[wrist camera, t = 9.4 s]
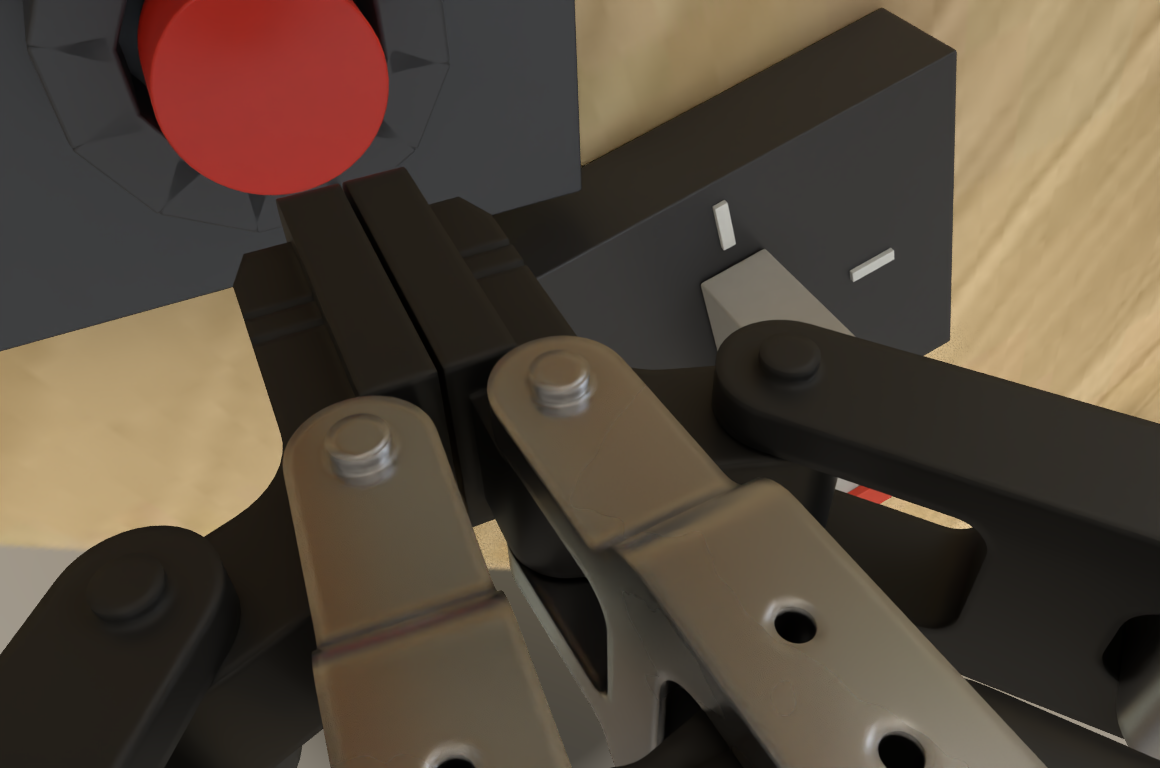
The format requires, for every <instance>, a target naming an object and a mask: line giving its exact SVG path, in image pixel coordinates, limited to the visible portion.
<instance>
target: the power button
mask: <svg viewBox="0 0 1160 768" xmlns="http://www.w3.org/2000/svg"><path fill="white" fill-rule="evenodd" d="M137 45H138V52H139V59H140V63H141V67H142V71H143V74H144V78H145V82H146V85H147V89H148V93H149V96H150V100H151V104H152V107H153V111H154V114H155V117H156V120H157V122H158V124H159V127H160V129H161V131H162V133H163V134H164V136H165V138H166V139H167V141H168V142H169V144H170V145H171V147H172V148H173V149H174V150H175V151H176V153H177V154H178V155H179V156H180V157H181V158H182V159H183V160H184V161H185V162H186V163H187V164H188V165H189V166H190V167H192V168H193V169H195V170H196V171H197V172H199V173H200V174H201V175H203V176H205V177H206V178H208V179H210V180H212V181H214V182H216V183H218V184H220V185H223V186H225V187H228V188H230V189H234V190H237V191H241V192H245V193H251V194H258V195H284V194H292V193H297V192H302V191H305V190H309V189H312V188H315V187H317V186H320V185H322V184H324V183H326V182H329V181H330V180H332V179H334V178H335V177H337V176H339V175H340V174H342V173H343V172H344V171H346V170H347V169H348V168H350V167H351V166H352V165H353V164H354V163H355V162H356V161H357V160H358V159H359V158H360V157H361V156H362V155H363V154H364V152H365V151H366V150H367V149H368V147H369V146H370V145H371V143H372V141H373V140H374V138H375V136H376V135H377V133H378V130H379V128H380V126H381V124H382V121H383V118H384V114H385V111H386V108H387V101H388V95H389V77H388V68H387V63H386V59H385V55H384V52H383V49H382V47H381V44H380V42H379V39H378V37H377V36H376V34H375V32H374V30H373V28H372V27H371V25H370V24H369V22H368V21H367V20H366V18H365V17H364V15H363V14H362V13H361V11H360V10H359V8H358V7H357V6H356V4H355V3H354V2H353V0H145V1H144V3H143V7H142V10H141V13H140V17H139V24H138V30H137Z"/></svg>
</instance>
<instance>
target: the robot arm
mask: <svg viewBox="0 0 1160 768" xmlns="http://www.w3.org/2000/svg"><path fill="white" fill-rule="evenodd" d="M342 189H343V190H342ZM276 205H277V209H278V213H279V216H280V220H281V224H282V227H283V230H284V234H285V237H286V241H287V243H283V244H279V245H276V246H272V247H268V248H264V249H261V250H257V251H253V252H249V253H246V254H243V257H242V260H241V263H240V266H239V269H238V272H237V275H236V278H235V281H234V283H233V287H234V290H235V293H236V297H237V300H238V303H239V306H240V309H241V312H242V315H243V318H244V321H245V324H246V328H247V331H248V334H249V337H250V340H251V343H252V346H253V349H254V352H255V355H256V359H257V362H258V365H259V368H260V371H261V374H262V377H263V380H264V383H265V386H266V390H267V393H268V396H269V399H270V402H271V405H272V408H273V411H274V414H275V417H276V421H277V424H278V427H279V430H280V433H281V437H282V442H283V454H282V458H281V463H280V466H279V468H278V471H277V473H276V475H275V477H274V479H273V480H272V482H271V483H270V485H269V486H268V488H267V489H266V490H265V491H264V492H263V494H262V495H261V496H260V497H259V498H258V499H257V500H256V501H255V502H254V503H253V504H252V505H250V506H249V507H248V508H247V509H246V510H244V511H243V512H241V513H240V514H239V515H237V516H236V517H234V518H233V519H231V520H230V521H228V522H227V523H225V524H224V525H222V526H220V527H219V528H217V529H216V530H214V531H213V532H211V533H209V534H208V535H206V536H205V537H203V536H201V535H199V534H197V533H195V532H193V531H191V530H188V529H184V528H181V527H174V526H148V527H143V528H137V529H133V530H130V531H126V532H123V533H120V534H118V535H115V536H113V537H110V538H108V539H106V540H104V541H102V542H100V543H99V544H97V545H95V546H93V547H92V548H90V549H89V550H87V551H86V552H85V553H83V554H82V555H80V556H79V557H78V558H77V559H76V560H74V561H73V562H72V563H71V564H70V565H69V566H68V567H67V568H66V569H65V570H64V571H63V572H62V573H61V575H60V576H59V577H58V578H57V579H56V581H55V582H54V583H53V585H52V586H51V587H50V589H49V590H48V591H47V593H46V594H45V595H44V597H43V598H42V599H41V601H40V602H39V603H38V605H37V606H36V607H35V609H34V610H33V612H32V613H31V614H30V616H29V617H28V618H27V620H26V621H25V622H24V624H23V625H22V626H21V628H20V629H19V630H18V632H17V633H16V634H15V636H14V637H13V638H12V640H11V641H10V642H9V644H8V645H7V646H6V648H5V649H4V650H3V652H2V653H1V654H0V768H297V766H298V763H299V760H300V755H301V750H302V745H303V744H305V743H306V742H307V741H308V740H310V739H311V738H312V737H313V736H314V735H316V734H317V733H318V732H319V731H321V730H322V729H324V735H325V739H326V745H327V750H328V756H329V761H330V766H331V768H572V767H571V765H570V762H569V759H568V756H567V754H566V751H565V748H564V746H563V743H562V740H561V738H560V735H559V732H558V730H557V727H556V724H555V722H554V719H553V716H552V714H551V711H550V708H549V705H548V703H547V700H546V697H545V695H544V692H543V689H542V687H541V684H540V681H539V679H538V676H537V673H536V671H535V668H534V666H533V663H532V660H531V657H530V655H529V652H528V649H527V647H526V644H525V642H524V639H523V636H522V633H521V631H520V628H519V625H518V623H517V620H516V618H515V615H514V613H513V611H512V608H511V605H510V603H509V601H508V599H507V597H506V595H505V594H504V592H503V591H497V590H496V589H495V587H494V584H493V582H492V580H491V577H490V574H489V571H488V569H487V566H486V563H485V560H484V558H483V555H482V552H481V549H480V547H479V544H478V541H477V538H476V536H475V533H474V530H473V527H475V526H477V525H480V524H483V523H485V522H488V521H491V520H493V519H496V521H497V523H498V525H499V527H500V529H501V531H502V533H503V535H504V537H505V539H506V541H507V546H508V554H509V562H510V568H511V572H512V575H513V577H514V580H515V582H516V583H517V585H518V587H519V588H520V590H521V592H522V593H523V595H524V597H525V598H526V600H527V602H528V603H529V605H530V607H531V608H532V610H533V611H534V613H535V615H536V616H537V618H538V619H539V621H540V623H541V625H542V626H543V628H544V630H545V631H546V633H547V635H548V636H549V638H550V640H551V641H552V643H553V644H554V646H555V648H556V649H557V651H558V653H559V654H560V656H561V657H562V659H563V661H564V663H565V664H566V666H567V668H568V669H569V671H570V672H571V674H572V676H573V677H574V679H575V681H576V682H577V684H578V686H579V687H580V689H581V691H582V692H583V694H584V696H585V697H586V699H587V700H588V702H589V704H590V705H591V707H592V709H593V711H594V713H595V714H596V716H597V718H598V720H599V723H600V725H601V727H602V730H603V732H604V735H605V738H606V740H607V744H608V747H609V751H610V754H611V756H612V759H613V762H614V764H615V767H613V768H1160V424H1158V423H1155V422H1151V421H1148V420H1144V419H1141V418H1137V417H1134V416H1130V415H1127V414H1123V413H1120V412H1116V411H1113V410H1109V409H1106V408H1102V407H1099V406H1095V405H1092V404H1088V403H1085V402H1081V401H1078V400H1074V399H1071V398H1067V397H1064V396H1060V395H1057V394H1053V393H1050V392H1046V391H1043V390H1039V389H1036V388H1032V387H1029V386H1026V385H1022V384H1019V383H1015V382H1012V381H1008V380H1005V379H1001V378H998V377H994V376H991V375H987V374H984V373H980V372H977V371H973V370H970V369H966V368H963V367H959V366H956V365H952V364H949V363H945V362H942V361H938V360H935V359H931V358H928V357H924V356H921V355H917V354H914V353H910V352H907V351H903V350H900V349H896V348H893V347H889V346H886V345H882V344H879V343H875V342H872V341H868V340H865V339H861V338H858V337H854V336H851V335H847V334H844V333H840V332H837V331H833V330H830V329H826V328H823V327H819V326H816V325H813V324H809V323H804V322H800V321H793V320H767V321H760V322H756V323H752V324H749V325H746V326H744V327H741V328H740V329H738V330H736V331H734V332H733V333H732V334H730V335H729V336H728V337H727V338H726V339H725V340H724V341H723V343H722V344H721V345H720V347H719V349H718V352H717V355H716V361H715V366H704V367H691V368H678V369H663V370H648V369H637V368H632V367H630V366H629V365H628V364H627V363H626V362H625V361H624V360H623V358H622V357H620V356H619V355H618V354H617V353H616V352H615V351H614V350H612V349H610V348H609V347H607V346H606V345H603V344H601V343H599V342H597V341H594V340H590V339H587V338H582V337H577V335H576V334H575V332H574V331H573V330H572V328H571V327H570V325H569V324H568V323H567V321H566V320H565V318H564V317H563V315H562V314H561V313H560V311H559V310H558V308H557V307H556V306H555V304H554V303H553V301H552V300H551V298H550V297H549V296H548V294H547V293H546V291H545V290H544V289H543V287H542V286H541V284H540V283H539V281H538V280H537V279H536V277H535V276H534V274H533V273H532V272H531V270H530V269H529V267H528V266H527V265H524V262H523V259H522V257H521V256H520V255H519V253H518V252H517V250H516V249H515V247H514V246H513V245H512V244H511V245H510V243H509V239H508V238H507V236H506V235H505V233H504V232H503V230H502V229H501V228H500V226H499V225H498V223H497V222H496V221H495V219H494V218H493V216H492V215H491V214H490V213H488V212H486V211H484V210H483V209H481V208H479V207H477V206H475V205H473V204H472V203H470V202H468V201H466V200H464V199H463V198H461V197H455V198H451V199H447V200H444V201H440V202H436V203H432V204H428V202H427V201H426V199H425V198H424V196H423V194H422V193H421V191H420V190H419V188H418V186H417V185H416V183H415V182H414V180H413V178H412V177H411V175H410V174H409V172H408V171H407V169H406V168H405V167H400V168H396V169H392V170H388V171H384V172H380V173H376V174H372V175H368V176H364V177H361V178H357V179H353V180H349V181H345V182H343V183H342V188H341V186H340V185H339V184H334V185H330V186H326V187H322V188H318V189H314V190H310V191H306V192H302V193H298V194H294V195H290V196H286V197H282V198H278V199H276ZM838 478H840V479H843V480H846V481H849V482H852V483H855V484H858V485H861V486H864V487H867V488H870V489H873V490H876V491H879V492H882V493H884V494H887V495H890V496H893V497H896V498H899V499H902V500H905V501H908V502H911V503H914V504H917V505H920V506H923V507H926V508H929V509H932V510H934V511H937V512H940V513H943V514H946V515H949V516H952V517H955V518H957V519H960V520H962V521H964V522H966V523H968V524H969V525H971V526H972V527H973V528H969V529H953V528H948V527H944V526H941V525H938V524H935V523H933V522H930V521H927V520H924V519H921V518H918V517H915V516H912V515H909V514H906V513H903V512H901V511H898V510H895V509H892V508H889V507H886V506H883V505H880V504H877V503H874V502H872V501H869V500H866V499H863V498H860V497H857V496H854V495H851V494H848V493H845V492H843V491H840V490H837V489H835V487H836V483H837V479H838ZM961 675H963V676H966V677H968V678H971V679H973V680H976V681H978V682H981V683H983V684H986V685H988V686H991V687H993V688H996V689H999V690H1001V691H1004V692H1006V693H1009V694H1011V695H1014V696H1016V697H1019V698H1021V699H1024V700H1026V701H1029V702H1031V703H1034V704H1036V705H1039V706H1042V707H1044V708H1047V709H1049V710H1052V711H1054V712H1057V713H1060V714H1062V715H1064V716H1067V717H1069V718H1072V719H1075V720H1077V721H1080V722H1082V723H1085V724H1087V725H1090V726H1092V727H1095V728H1098V729H1100V730H1102V731H1105V732H1107V733H1110V734H1113V735H1115V736H1118V737H1120V738H1123V739H1125V741H1126V743H1127V745H1128V746H1129V747H1128V746H1126V745H1123V744H1121V743H1118V742H1116V741H1114V740H1111V739H1109V738H1107V737H1104V736H1102V735H1100V734H1097V733H1095V732H1093V731H1091V730H1088V729H1086V728H1083V727H1081V726H1079V725H1076V724H1074V723H1072V722H1069V721H1067V720H1065V719H1063V718H1060V717H1058V716H1056V715H1053V714H1051V713H1048V712H1046V711H1044V710H1041V709H1039V708H1037V707H1034V706H1032V705H1030V704H1027V703H1025V702H1023V701H1020V700H1018V699H1016V698H1014V697H1011V696H1009V695H1007V694H1004V693H1002V692H1000V691H997V690H995V689H992V688H990V687H987V686H985V685H982V684H980V683H977V682H975V681H972V680H968V679H965V678H963V677H962V676H961Z"/></svg>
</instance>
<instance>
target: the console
mask: <svg viewBox="0 0 1160 768" xmlns="http://www.w3.org/2000/svg"><path fill="white" fill-rule="evenodd" d="M956 61H957V52H956V50H955V49H953V48H951V47H949V46H948V45H946V44H944V43H942V42H941V41H939V40H937V39H936V38H934V37H932V36H930V35H929V34H927V33H925V32H923V31H922V30H920V29H918V28H917V27H915V26H913V25H911V24H910V23H908V22H906V21H904V20H903V19H901V18H899V17H898V16H896V15H894V14H892V13H891V12H889V11H887V10H885V9H884V8H880V9H878V10H876V11H875V12H873V13H871V14H869V15H867V16H865V17H863V18H861V19H860V20H858V21H856V22H854V23H852V24H850V25H848V26H846V27H845V28H843V29H841V30H839V31H837V32H835V33H833V34H831V35H830V36H828V37H826V38H824V39H822V40H820V41H818V42H816V43H814V44H813V45H811V46H809V47H807V48H805V49H803V50H801V51H799V52H798V53H796V54H794V55H792V56H790V57H788V58H786V59H784V60H783V61H781V62H779V63H777V64H775V65H773V66H771V67H769V68H768V69H766V70H764V71H762V72H760V73H758V74H756V75H754V76H753V77H751V78H749V79H747V80H745V81H743V82H741V83H739V84H737V85H736V86H734V87H732V88H730V89H728V90H726V91H724V92H722V93H721V94H719V95H717V96H715V97H713V98H711V99H709V100H707V101H706V102H704V103H702V104H700V105H698V106H696V107H694V108H692V109H691V110H689V111H687V112H685V113H683V114H681V115H679V116H677V117H676V118H674V119H672V120H670V121H668V122H666V123H664V124H662V125H661V126H659V127H657V128H655V129H653V130H651V131H649V132H647V133H645V134H644V135H642V136H640V137H638V138H636V139H634V140H632V141H630V142H629V143H627V144H625V145H623V146H621V147H619V148H617V149H615V150H614V151H612V152H610V153H608V154H606V155H604V156H602V157H600V158H599V159H597V160H595V161H593V162H591V163H589V164H587V165H585V166H584V167H582V168H581V186H582V189H581V190H580V191H578V192H575V193H571V194H567V195H564V196H560V197H557V198H553V199H549V200H546V201H542V202H538V203H535V204H531V205H528V206H524V207H520V208H517V209H513V210H510V211H506V212H502V213H499V214H495V215H492V216H493V218H494V219H495V221H496V222H497V223H498V225H499V226H500V228H501V229H502V230H503V232H504V233H505V235H506V236H507V238H508V239H509V243H510V245H511V244H512V245H513V246H514V247H515V249H516V250H517V252H518V253H519V255H520V256H521V257H522V259H523V262H524V265H527V266H528V267H529V269H530V270H531V272H532V273H533V274H534V276H535V277H536V279H537V280H538V281H539V283H540V284H541V286H542V287H543V289H544V290H545V291H546V293H547V294H548V296H549V297H550V298H551V300H552V301H553V303H554V304H555V306H556V307H557V308H558V310H559V311H560V313H561V314H562V315H563V317H564V318H565V320H566V321H567V323H568V324H569V325H570V327H571V328H572V330H573V331H574V332H575V334H576V335H577V337H582V338H587V339H590V340H594V341H597V342H599V343H601V344H603V345H606V346H607V347H609V348H610V349H612V350H614V351H615V352H616V353H617V354H618V355H619V356H620V357H622V358H623V360H624V361H625V362H626V363H627V364H628V365H629V366H630V367H632V368H637V369H648V370H663V369H678V368H691V367H704V366H715V361H716V355H717V352H718V351H717V347H716V343H715V339H714V335H713V331H712V327H711V323H710V319H709V316H708V312H707V308H706V304H705V300H704V296H703V292H702V288H701V284H702V283H703V282H705V281H706V280H708V279H710V278H712V277H714V276H716V275H717V274H719V273H721V272H723V271H725V270H726V269H728V268H730V267H732V266H734V265H735V264H737V263H739V262H741V261H743V260H744V259H746V258H748V257H750V256H752V255H754V254H755V253H757V252H759V251H761V250H763V249H766V250H767V251H768V252H769V253H770V254H771V255H772V256H773V257H774V258H775V259H776V260H777V261H778V262H779V263H780V264H781V265H782V266H783V267H784V268H785V269H786V270H787V271H789V272H790V273H791V274H792V275H793V276H794V277H795V278H796V279H797V280H798V281H799V282H800V283H801V284H802V285H803V286H804V287H805V288H806V289H807V290H808V291H809V292H810V293H811V294H812V295H813V296H814V297H815V298H816V299H817V300H818V301H819V302H820V303H821V304H822V305H823V306H824V307H825V308H827V309H828V310H829V311H830V312H831V313H832V314H833V315H834V316H835V317H836V318H837V319H838V320H839V321H840V322H841V323H842V324H843V325H844V326H845V327H846V328H847V329H848V330H849V331H850V332H851V333H852V334H853V335H854V336H855V337H858V338H861V339H865V340H868V341H872V342H875V343H879V344H882V345H886V346H889V347H893V348H896V349H900V350H903V351H907V352H910V353H914V354H917V355H921V356H924V355H926V354H927V353H929V352H931V351H933V350H934V349H936V348H938V347H940V346H941V345H943V344H945V343H947V342H948V341H950V318H951V275H952V232H953V189H954V147H955V104H956Z"/></svg>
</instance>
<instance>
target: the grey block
mask: <svg viewBox="0 0 1160 768" xmlns="http://www.w3.org/2000/svg"><path fill="white" fill-rule="evenodd" d="M701 288H702V292H703V296H704V300H705V304H706V308H707V312H708V316H709V319H710V323H711V327H712V331H713V335H714V339H715V343H716V347H717V351H718V349H719V347H720V345H721V344H722V343H723V341H724V340H725V339H726V338H727V337H728V336H729V335H730V334H732V333H733V332H734V331H736V330H738V329H740V328H741V327H744V326H746V325H749V324H752V323H756V322H760V321H767V320H793V321H800V322H804V323H809V324H813V325H816V326H819V327H823V328H826V329H830V330H833V331H837V332H840V333H844V334H847V335H851V336H854V335H853V334H852V333H851V332H850V331H849V330H848V329H847V328H846V327H845V326H844V325H843V324H842V323H841V322H840V321H839V320H838V319H837V318H836V317H835V316H834V315H833V314H832V313H831V312H830V311H829V310H828V309H827V308H825V307H824V306H823V305H822V304H821V303H820V302H819V301H818V300H817V299H816V298H815V297H814V296H813V295H812V294H811V293H810V292H809V291H808V290H807V289H806V288H805V287H804V286H803V285H802V284H801V283H800V282H799V281H798V280H797V279H796V278H795V277H794V276H793V275H792V274H791V273H790V272H789V271H787V270H786V269H785V268H784V267H783V266H782V265H781V264H780V263H779V262H778V261H777V260H776V259H775V258H774V257H773V256H772V255H771V254H770V253H769V252H768V251H767V250H766V249H763V250H761V251H759V252H757V253H755V254H754V255H752V256H750V257H748V258H746V259H744V260H743V261H741V262H739V263H737V264H735V265H734V266H732V267H730V268H728V269H726V270H725V271H723V272H721V273H719V274H717V275H716V276H714V277H712V278H710V279H708V280H706V281H705V282H703V283H702V284H701ZM854 337H855V336H854ZM835 489H837V490H840V491H843V492H845V493H848V494H851V495H854V496H857V497H860V498H863V499H866V500H869V501H872V502H874V503H877V504H880V503H882V502H884V501H885V500H887V499H889V498H891V497H892V496H890V495H887V494H884V493H882V492H879V491H876V490H873V489H870V488H867V487H864V486H861V485H858V484H855V483H852V482H849V481H846V480H843V479H840V478H838V479H837V483H836V487H835Z"/></svg>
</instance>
